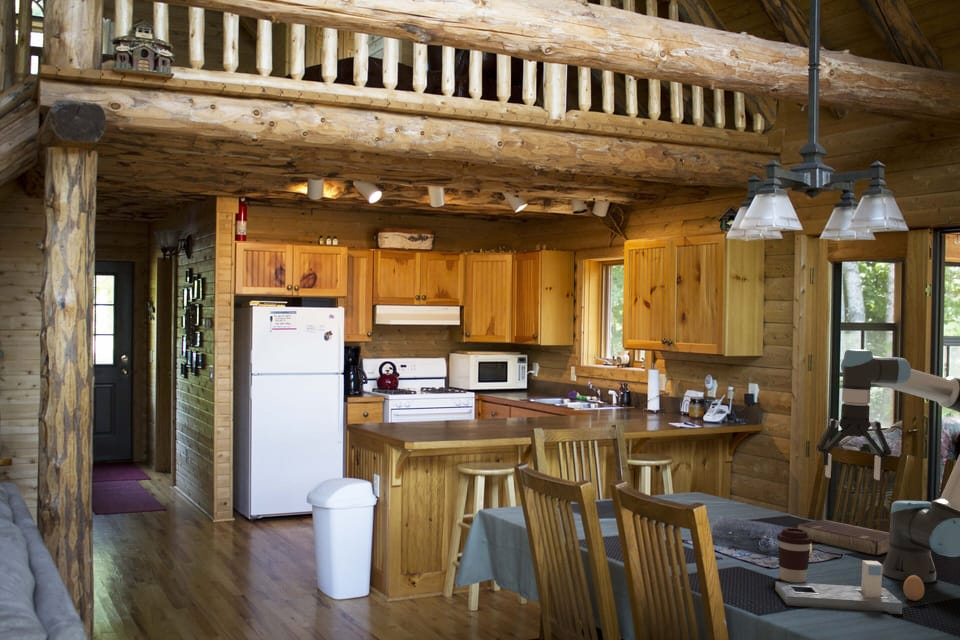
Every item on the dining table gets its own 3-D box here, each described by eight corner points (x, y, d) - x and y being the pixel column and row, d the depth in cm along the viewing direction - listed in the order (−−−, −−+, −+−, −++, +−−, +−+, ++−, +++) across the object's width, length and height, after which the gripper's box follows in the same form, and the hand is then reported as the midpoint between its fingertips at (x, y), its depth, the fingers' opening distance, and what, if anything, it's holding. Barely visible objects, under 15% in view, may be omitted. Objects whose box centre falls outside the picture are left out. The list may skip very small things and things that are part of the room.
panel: (884, 598, 274) (884, 587, 274) (901, 614, 260) (902, 602, 260) (775, 591, 276) (775, 581, 276) (787, 607, 262) (787, 595, 262)
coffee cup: (812, 587, 283) (814, 535, 282) (776, 583, 285) (779, 532, 284) (808, 577, 292) (810, 528, 292) (773, 574, 294) (775, 525, 294)
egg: (922, 604, 270) (924, 579, 270) (901, 600, 272) (902, 575, 272) (924, 599, 275) (926, 574, 274) (903, 596, 277) (905, 571, 277)
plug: (875, 600, 269) (877, 561, 269) (881, 605, 265) (883, 565, 265) (860, 599, 270) (862, 560, 269) (866, 605, 265) (867, 564, 265)
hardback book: (902, 548, 337) (902, 534, 337) (876, 556, 324) (877, 541, 324) (823, 531, 358) (824, 518, 358) (797, 538, 345) (797, 524, 345)
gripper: (896, 404, 281) (892, 477, 281) (807, 400, 282) (804, 473, 283) (905, 407, 273) (901, 482, 273) (814, 402, 275) (811, 478, 275)
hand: (852, 478), depth 278 cm, fingers open, 13 cm apart
